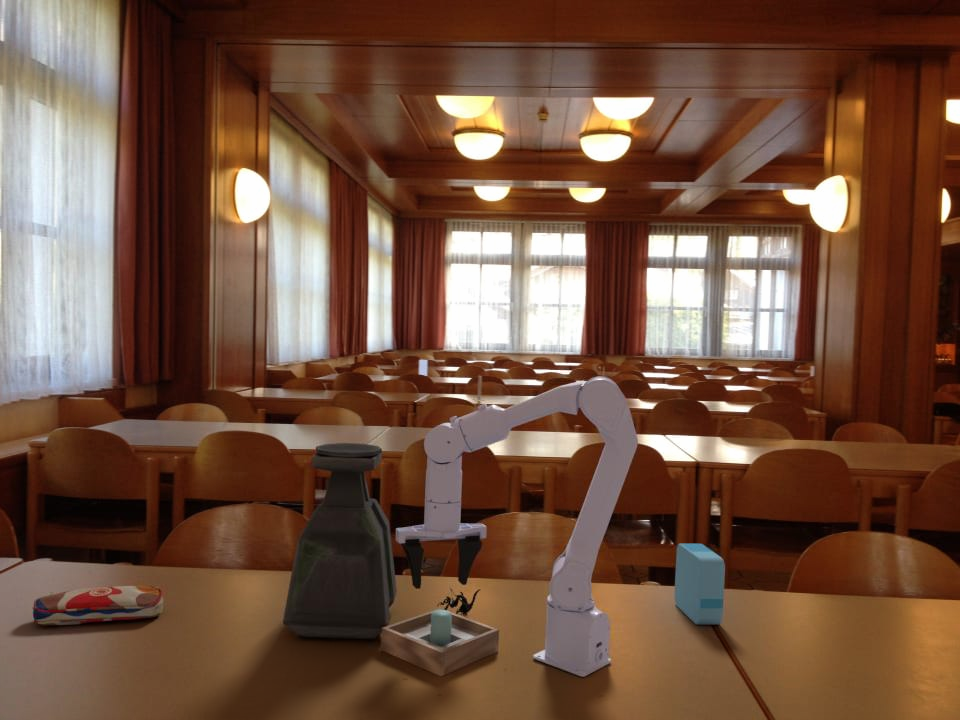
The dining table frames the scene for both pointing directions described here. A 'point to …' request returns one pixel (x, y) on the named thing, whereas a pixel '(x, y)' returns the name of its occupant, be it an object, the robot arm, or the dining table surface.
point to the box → (416, 648)
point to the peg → (441, 627)
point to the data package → (699, 583)
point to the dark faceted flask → (343, 554)
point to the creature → (465, 606)
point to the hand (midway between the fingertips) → (439, 584)
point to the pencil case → (98, 605)
